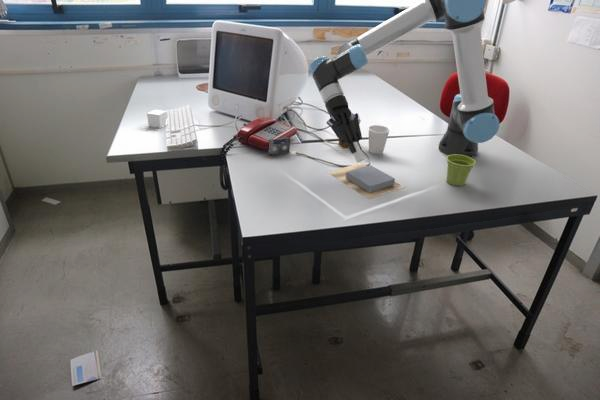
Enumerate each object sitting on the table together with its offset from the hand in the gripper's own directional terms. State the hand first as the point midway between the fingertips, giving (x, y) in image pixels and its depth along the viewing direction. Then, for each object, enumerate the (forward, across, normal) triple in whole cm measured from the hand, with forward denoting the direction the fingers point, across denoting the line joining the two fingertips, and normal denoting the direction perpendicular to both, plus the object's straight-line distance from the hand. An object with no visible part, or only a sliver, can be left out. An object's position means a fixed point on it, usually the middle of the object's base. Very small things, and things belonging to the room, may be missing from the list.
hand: (360, 160), depth 139 cm
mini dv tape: (-18, +12, -28) cm, 36 cm away
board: (+7, 0, -3) cm, 7 cm away
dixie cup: (-5, -21, -15) cm, 26 cm away
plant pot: (+19, -28, +9) cm, 34 cm away
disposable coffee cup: (-13, -16, -23) cm, 31 cm away
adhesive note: (-55, +43, -65) cm, 95 cm away
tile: (+3, 0, -4) cm, 5 cm away
